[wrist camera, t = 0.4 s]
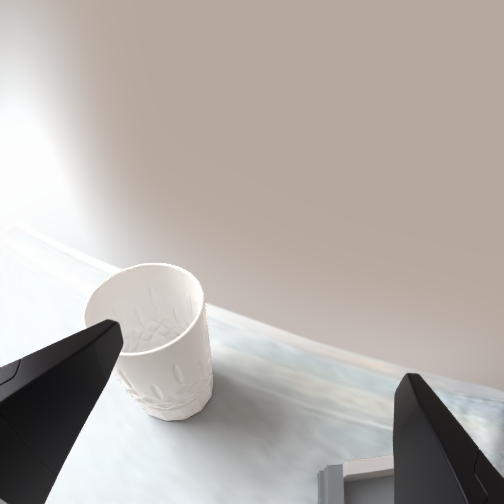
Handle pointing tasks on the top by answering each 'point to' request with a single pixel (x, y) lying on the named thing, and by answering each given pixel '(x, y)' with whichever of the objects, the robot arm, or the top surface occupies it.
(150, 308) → the white cup
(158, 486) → the top surface
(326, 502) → the chute
